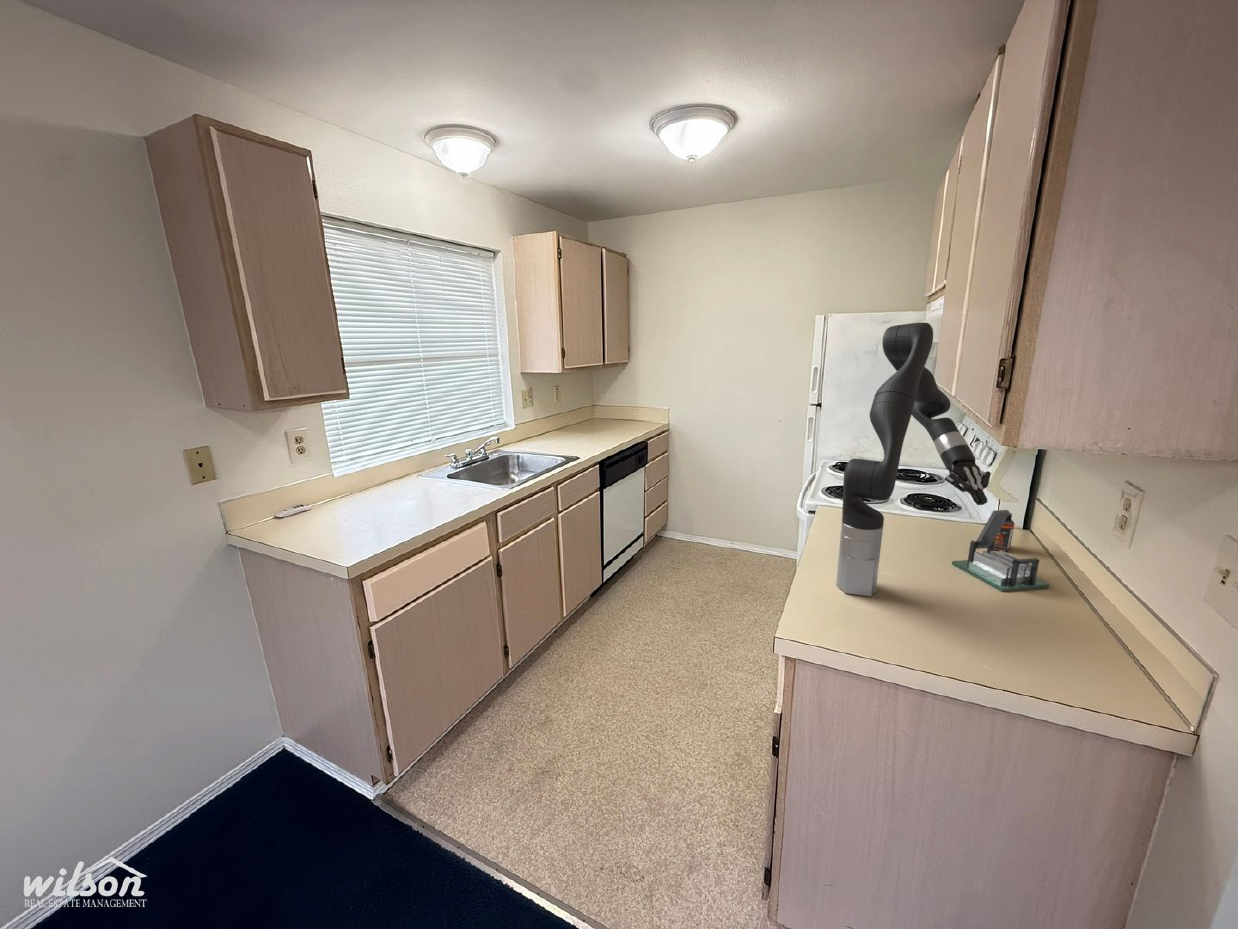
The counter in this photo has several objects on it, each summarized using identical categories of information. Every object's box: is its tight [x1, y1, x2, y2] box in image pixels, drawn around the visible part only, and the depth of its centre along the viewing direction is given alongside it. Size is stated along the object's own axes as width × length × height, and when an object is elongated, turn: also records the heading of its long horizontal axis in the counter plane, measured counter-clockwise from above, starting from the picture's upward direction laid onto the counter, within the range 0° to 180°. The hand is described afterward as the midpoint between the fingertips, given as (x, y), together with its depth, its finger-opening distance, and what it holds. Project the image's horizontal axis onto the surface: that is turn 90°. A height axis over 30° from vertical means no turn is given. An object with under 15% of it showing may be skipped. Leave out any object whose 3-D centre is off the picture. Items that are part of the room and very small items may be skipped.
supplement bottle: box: [994, 512, 1015, 552], centre depth 146 cm, size 6×6×11 cm
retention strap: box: [975, 509, 1011, 550], centre depth 132 cm, size 1×4×13 cm, turn 97°
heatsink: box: [951, 540, 1050, 593], centre depth 130 cm, size 16×13×8 cm
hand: (982, 503), depth 134 cm, fingers closed
